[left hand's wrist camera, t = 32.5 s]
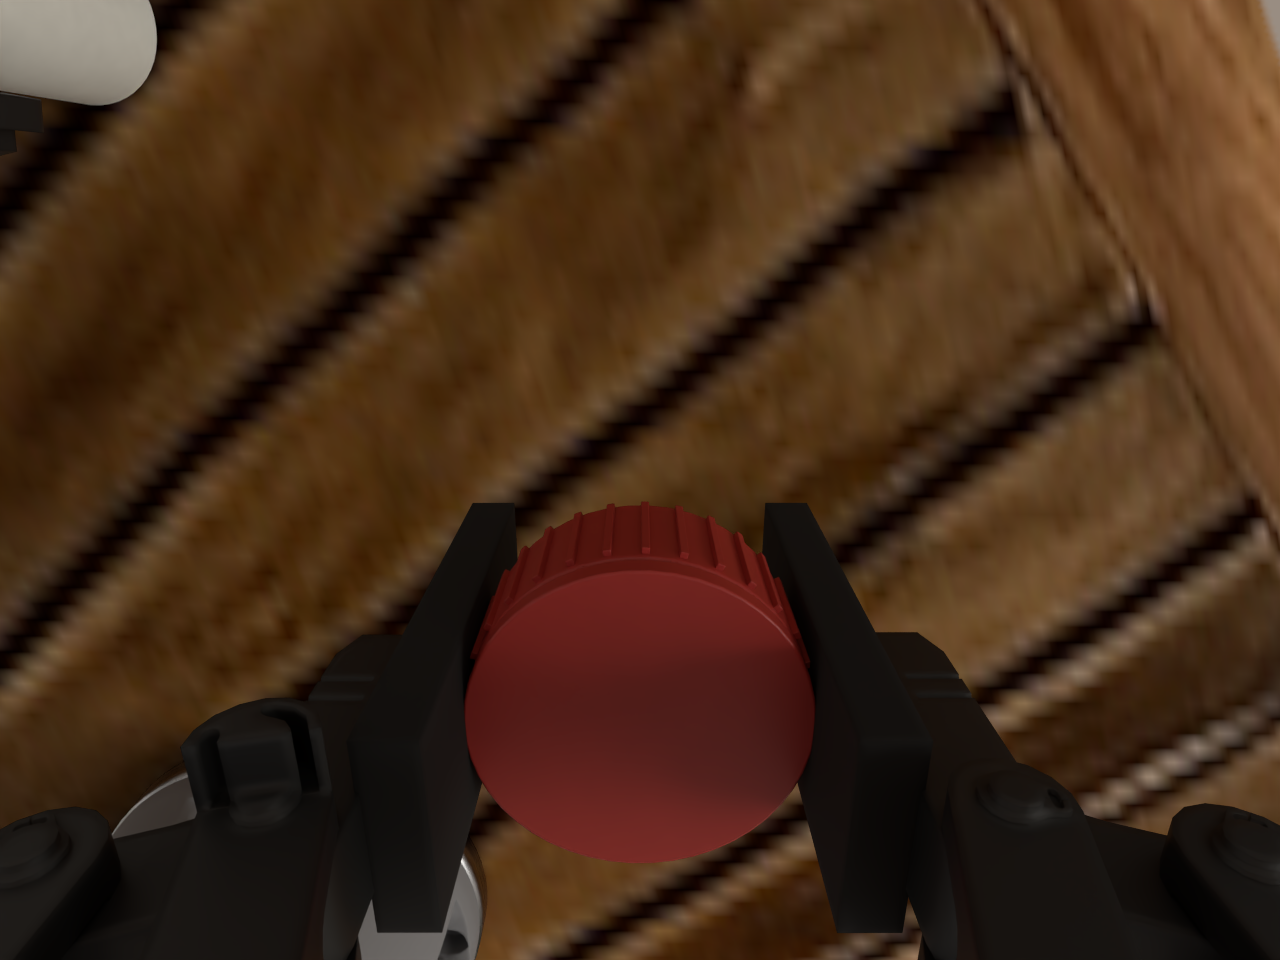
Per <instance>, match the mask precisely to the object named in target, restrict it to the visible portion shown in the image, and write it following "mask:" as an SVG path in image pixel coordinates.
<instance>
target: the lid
mask: <svg viewBox="0 0 1280 960" xmlns="http://www.w3.org/2000/svg"><path fill="white" fill-rule="evenodd" d="M470 659H473V660H475V663H474V666H473V668H472V671H471V674H470V677H469V680H468V684H467V689H466V693H465V698H464V715H465V726H466V737H467V746H468V751H469V755H470V758H471V760H472V763H473V765H474V767H475V770H476V772H477V774H478V776H479V778H480V779H481V781H482V783H483V784H484V786H485V787H486V789H487V791H488V792H489V793H490V795H491V796H492V797H493V798H494V799H495V801H496V802H497V803H498V804H499V806H500V807H501V808H502V809H503V810H504V811H506V812H507V813H508V814H509V815H510V816H511V817H512V818H513V819H514V820H515V821H516V822H518V823H519V824H521V825H522V826H523V827H525V828H526V829H527V830H529V831H530V832H532V833H533V834H535V835H537V836H539V837H540V838H542V839H544V840H546V841H547V842H549V843H552V844H554V845H556V846H559V847H561V848H563V849H566V850H568V851H571V852H574V853H577V854H581V855H584V856H587V857H591V858H597V859H602V860H607V861H614V862H625V863H655V862H665V861H673V860H678V859H683V858H688V857H693V856H696V855H699V854H702V853H705V852H708V851H712V850H714V849H717V848H719V847H721V846H723V845H726V844H728V843H730V842H732V841H734V840H736V839H738V838H739V837H741V836H743V835H744V834H746V833H748V832H750V831H751V830H752V829H754V828H755V827H756V826H758V825H759V824H760V823H762V822H763V821H764V820H766V819H767V818H768V817H769V816H770V815H771V814H772V813H773V812H774V811H775V810H776V809H777V808H778V807H779V806H780V805H781V804H782V803H783V802H784V800H785V799H786V798H787V797H788V795H789V794H790V793H791V792H792V790H793V789H794V787H795V785H796V784H797V782H798V780H799V779H800V777H801V775H802V774H803V771H804V769H805V766H806V764H807V762H808V759H809V757H810V754H811V749H812V741H813V731H814V721H815V704H816V701H815V694H814V690H813V686H812V681H811V678H810V675H809V672H808V669H809V668H810V659H809V657H808V654H807V651H806V648H805V646H804V643H803V640H802V637H801V634H800V631H799V629H798V626H797V623H796V620H795V618H794V615H793V612H792V609H791V607H790V604H789V601H788V598H787V596H786V593H785V590H784V587H783V584H782V582H781V580H780V578H779V577H777V578H775V579H774V578H773V576H772V575H771V573H770V570H769V567H768V564H767V561H766V558H765V556H764V555H763V554H762V553H761V552H760V553H759V554H758V555H757V554H756V553H755V552H754V551H753V550H752V549H750V548H749V547H748V546H747V545H746V544H745V543H744V539H743V536H742V535H741V534H740V533H739V532H736V533H735V534H732V533H731V532H729V531H728V530H726V529H725V528H723V527H721V526H719V525H717V524H716V523H715V519H714V518H713V517H711V516H707V518H706V519H705V518H702V517H699V516H697V515H694V514H691V513H688V512H684V511H683V507H681V506H677V505H676V506H675V509H672V508H667V507H657V506H649V502H641V506H623V507H615V505H614V504H608V505H607V509H604V510H600V511H596V512H591V513H588V514H585V515H582V513H581V512H579V513H576V514H574V519H573V520H570V521H568V522H566V523H564V524H562V525H561V526H559V527H557V528H555V529H553V528H552V527H551V526H550V527H548V528H547V529H545V532H544V536H543V537H542V538H541V539H539V540H538V541H537V542H535V543H534V544H533V545H532V546H531V547H530V548H528V547H527V546H524V547H523V548H522V549H521V551H520V554H519V557H518V560H517V563H516V564H515V565H514V566H513V568H512V569H511V571H508V570H507V569H505V571H504V572H503V574H502V577H501V579H500V582H499V585H498V588H497V591H496V593H495V596H492V598H491V600H490V603H489V606H488V609H487V611H486V614H485V617H484V620H483V622H482V625H481V628H480V631H479V633H478V636H477V639H476V642H475V644H474V647H473V650H472V653H471V656H470Z"/></svg>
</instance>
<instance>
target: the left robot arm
mask: <svg viewBox="0 0 1280 960" xmlns="http://www.w3.org/2000/svg"><path fill="white" fill-rule="evenodd" d="M762 554H763V555H764V556H765V558H766V561H767V564H768V567H769V570H770V573H771V575H772V576H773V578H774V579H775V578H777V577H779V578H780V580H781V582H782V584H783V587H784V590H785V593H786V596H787V598H788V601H789V604H790V607H791V609H792V612H793V615H794V618H795V620H796V623H797V626H798V629H799V631H800V634H801V637H802V640H803V643H804V646H805V648H806V651H807V654H808V657H809V659H810V668H809V669H808V672H809V675H810V678H811V681H812V686H813V690H814V694H815V701H816V704H815V721H814V731H813V741H812V749H811V754H810V757H809V759H808V762H807V764H806V766H805V769H804V771H803V774H802V775H801V777H800V779H799V780H798V782H797V783H798V786H799V790H800V794H801V798H802V802H803V805H804V809H805V813H806V817H807V820H808V824H809V828H810V832H811V835H812V839H813V843H814V847H815V851H816V854H817V858H818V862H819V866H820V869H821V873H822V877H823V881H824V884H825V888H826V892H827V896H828V900H829V903H830V907H831V911H832V915H833V918H834V922H835V926H836V930H837V933H902V932H903V926H904V920H905V913H906V907H907V901H908V897H909V900H910V902H911V905H912V907H913V910H914V913H915V915H916V918H917V921H918V923H919V926H920V929H921V931H922V938H921V944H920V949H919V955H918V960H1280V826H1279V825H1278V824H1276V823H1274V822H1272V821H1270V820H1268V819H1266V818H1264V817H1262V816H1259V815H1256V814H1253V813H1250V812H1247V811H1244V810H1241V809H1238V808H1235V807H1230V806H1222V805H1215V804H1207V803H1204V804H1199V805H1193V806H1187V807H1184V808H1183V809H1182V810H1180V811H1179V812H1178V813H1177V814H1176V815H1175V816H1174V817H1173V818H1172V822H1171V825H1170V828H1169V831H1168V835H1162V834H1158V833H1154V832H1149V831H1145V830H1141V829H1136V828H1132V827H1128V826H1123V825H1119V824H1115V823H1110V822H1106V821H1103V820H1100V819H1096V818H1093V817H1090V816H1086V815H1084V812H1083V810H1082V809H1081V807H1080V806H1079V804H1078V803H1077V801H1076V800H1075V798H1074V797H1073V795H1072V794H1071V793H1070V792H1069V791H1068V790H1066V789H1065V788H1064V787H1063V786H1062V785H1060V784H1059V783H1058V782H1057V781H1055V780H1054V779H1053V778H1052V777H1050V776H1048V775H1046V774H1044V773H1042V772H1040V771H1038V770H1036V769H1034V768H1032V767H1030V766H1028V765H1024V764H1021V763H1017V762H1016V761H1015V759H1014V758H1013V756H1012V755H1011V753H1010V752H1009V750H1008V749H1007V747H1006V746H1005V744H1004V743H1003V741H1002V740H1001V738H1000V737H999V735H998V733H997V732H996V730H995V729H994V727H993V726H992V724H991V723H990V721H989V720H988V718H987V717H986V715H985V714H984V712H983V711H982V709H981V708H980V706H979V705H978V703H977V702H976V700H975V698H971V692H970V691H969V689H968V688H967V686H966V685H965V683H964V682H963V680H962V679H959V674H958V673H957V671H956V670H955V668H954V667H953V665H952V664H951V662H950V660H949V659H948V657H947V656H946V654H945V653H944V652H943V651H942V650H941V649H939V648H938V647H937V646H935V645H934V644H932V643H931V642H930V641H928V640H927V639H926V638H924V637H923V636H921V635H920V634H919V633H917V632H875V631H874V629H873V627H872V625H871V623H870V621H869V619H868V617H867V616H866V614H865V612H864V610H863V608H862V606H861V604H860V602H859V600H858V599H857V597H856V595H855V593H854V591H853V589H852V587H851V585H850V584H849V582H848V580H847V578H846V576H845V574H844V572H843V570H842V569H841V567H840V565H839V563H838V561H837V559H836V557H835V555H834V553H833V552H832V550H831V548H830V546H829V544H828V542H827V540H826V538H825V537H824V535H823V533H822V531H821V529H820V527H819V525H818V523H817V521H816V520H815V518H814V516H813V514H812V512H811V510H810V508H809V506H808V505H807V503H765V518H764V534H763V551H762ZM517 560H518V558H517V542H516V526H515V509H514V503H473V504H472V506H471V507H470V509H469V511H468V513H467V515H466V517H465V519H464V521H463V522H462V524H461V526H460V528H459V530H458V532H457V534H456V536H455V538H454V539H453V541H452V543H451V545H450V547H449V549H448V551H447V553H446V554H445V556H444V558H443V560H442V562H441V564H440V566H439V568H438V569H437V571H436V573H435V575H434V577H433V579H432V581H431V583H430V585H429V586H428V588H427V590H426V592H425V594H424V596H423V598H422V600H421V601H420V603H419V605H418V607H417V609H416V611H415V613H414V615H413V616H412V618H411V620H410V622H409V624H408V626H407V628H406V630H405V632H404V633H403V635H362V636H360V637H359V638H358V639H356V640H355V641H354V642H352V643H351V644H349V645H348V646H347V647H345V648H344V649H343V650H341V651H340V652H339V653H337V654H336V655H335V657H334V658H333V660H332V661H331V663H330V664H329V666H328V667H327V669H326V671H325V672H324V674H323V675H322V677H321V682H318V683H317V684H316V686H315V687H314V689H313V690H312V692H311V693H310V695H309V700H308V701H305V702H303V701H299V700H296V699H292V698H265V699H261V700H256V701H252V702H248V703H243V704H239V705H237V706H235V707H232V708H230V709H228V710H226V711H223V712H221V713H219V714H216V715H214V716H213V717H211V718H210V719H209V720H207V721H206V722H204V723H203V724H202V725H200V726H199V727H197V728H196V729H195V730H193V732H192V733H191V734H190V735H189V737H188V738H187V739H186V741H185V742H184V743H183V745H182V746H181V751H182V755H183V759H184V762H182V763H180V764H178V765H177V766H175V767H173V768H172V769H171V770H169V771H168V772H166V773H165V774H163V775H162V776H161V777H160V778H159V779H157V780H156V781H155V782H154V783H153V784H152V785H151V786H150V787H149V788H148V789H147V790H146V791H145V792H144V793H143V795H142V796H141V797H140V798H139V799H138V801H137V802H136V803H135V804H134V805H133V807H132V808H131V809H130V810H129V812H128V813H127V814H126V815H125V816H124V818H123V819H122V820H121V821H120V823H119V824H118V826H117V827H116V829H115V830H114V832H113V833H111V830H110V827H109V824H108V821H107V820H106V819H105V818H104V817H103V816H102V815H101V814H99V813H98V812H97V811H96V810H91V809H85V808H80V807H69V808H61V809H53V810H47V811H44V812H41V813H38V814H35V815H32V816H29V817H26V818H23V819H20V820H17V821H15V822H13V823H11V824H10V825H8V826H6V827H4V828H2V829H0V960H475V958H476V956H477V952H478V948H479V944H480V940H481V935H482V930H483V925H484V920H485V916H486V908H487V886H486V878H485V874H484V870H483V866H482V862H481V860H480V857H479V855H478V852H477V850H476V848H475V846H474V844H473V842H472V840H471V839H470V837H469V835H468V834H469V830H470V826H471V822H472V819H473V815H474V811H475V807H476V804H477V800H478V796H479V792H480V789H481V785H482V781H481V779H480V778H479V776H478V774H477V772H476V770H475V767H474V765H473V763H472V760H471V758H470V755H469V751H468V746H467V737H466V726H465V715H464V698H465V693H466V689H467V684H468V680H469V677H470V674H471V671H472V668H473V666H474V663H475V660H473V659H470V656H471V653H472V650H473V647H474V644H475V642H476V639H477V636H478V633H479V631H480V628H481V625H482V622H483V620H484V617H485V614H486V611H487V609H488V606H489V603H490V600H491V598H492V596H495V593H496V591H497V588H498V585H499V582H500V579H501V577H502V574H503V572H504V571H505V569H507V570H508V571H511V569H512V568H513V566H514V565H515V564H516V563H517Z"/></svg>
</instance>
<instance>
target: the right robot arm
mask: <svg viewBox="0 0 1280 960" xmlns="http://www.w3.org/2000/svg"><path fill="white" fill-rule="evenodd" d="M15 130H19V131H29V132H39V133H44V128H43V116H42V104H41V100H40V99H35V98H30V97H24V96H19V95H13V94H8V93H3V92H0V156H1V155H5V154H9V153H13V152H17V149H16V139H15Z"/></svg>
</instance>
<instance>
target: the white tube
mask: <svg viewBox="0 0 1280 960" xmlns="http://www.w3.org/2000/svg"><path fill="white" fill-rule="evenodd" d="M156 46H157V33H156V24H155V19H154V15H153V11H152V8H151V5H150V3H149V0H0V91H6V92H12V93H18V94H25V95H31V96H37V97H43V98H50V99H56V100H62V101H68V102H75V103H81V104H87V105H106V104H112V103H115V102H119V101H121V100H123V99H125V98H127V97H128V96H130V95H131V94H133V93H134V92H135V91H136V90H137V89H138V88H139V87H140V86H141V85H142V84H143V83H144V81H145V80H146V78H147V77H148V75H149V73H150V71H151V69H152V66H153V63H154V59H155V54H156Z"/></svg>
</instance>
